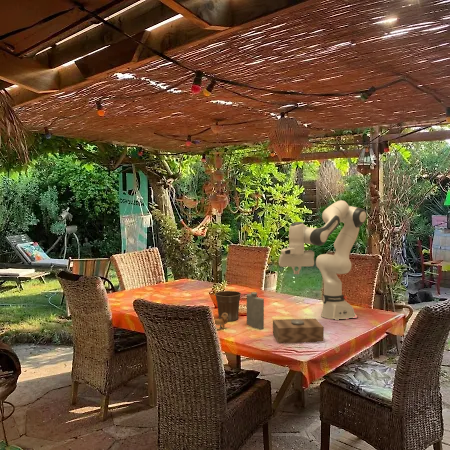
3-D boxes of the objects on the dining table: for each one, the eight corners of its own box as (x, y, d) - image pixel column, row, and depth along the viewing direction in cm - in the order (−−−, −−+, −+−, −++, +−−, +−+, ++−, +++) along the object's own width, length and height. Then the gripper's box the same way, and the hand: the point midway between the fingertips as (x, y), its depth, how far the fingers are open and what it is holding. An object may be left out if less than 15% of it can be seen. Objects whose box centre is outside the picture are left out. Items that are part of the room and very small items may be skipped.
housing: (315, 332, 260) (315, 318, 259) (323, 341, 244) (323, 326, 243) (272, 334, 258) (272, 319, 257) (278, 343, 242) (278, 328, 241)
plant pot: (211, 317, 294) (211, 291, 292) (235, 314, 300) (234, 289, 298) (220, 323, 278) (220, 297, 277) (245, 320, 284) (245, 294, 283)
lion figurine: (225, 326, 273) (225, 311, 272) (230, 328, 269) (230, 313, 268) (204, 330, 265) (203, 315, 264) (209, 333, 260) (208, 317, 260)
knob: (302, 331, 254) (302, 319, 254) (305, 335, 248) (305, 323, 247) (289, 332, 254) (289, 319, 253) (292, 335, 247) (292, 323, 247)
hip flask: (264, 329, 267) (264, 294, 266) (258, 330, 265) (258, 295, 264) (250, 322, 281) (250, 289, 280) (244, 323, 279) (244, 290, 278)
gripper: (312, 249, 272) (312, 272, 273) (278, 250, 270) (278, 273, 271) (315, 250, 265) (315, 274, 266) (280, 251, 264) (280, 275, 265)
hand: (296, 274), depth 269 cm, fingers closed
